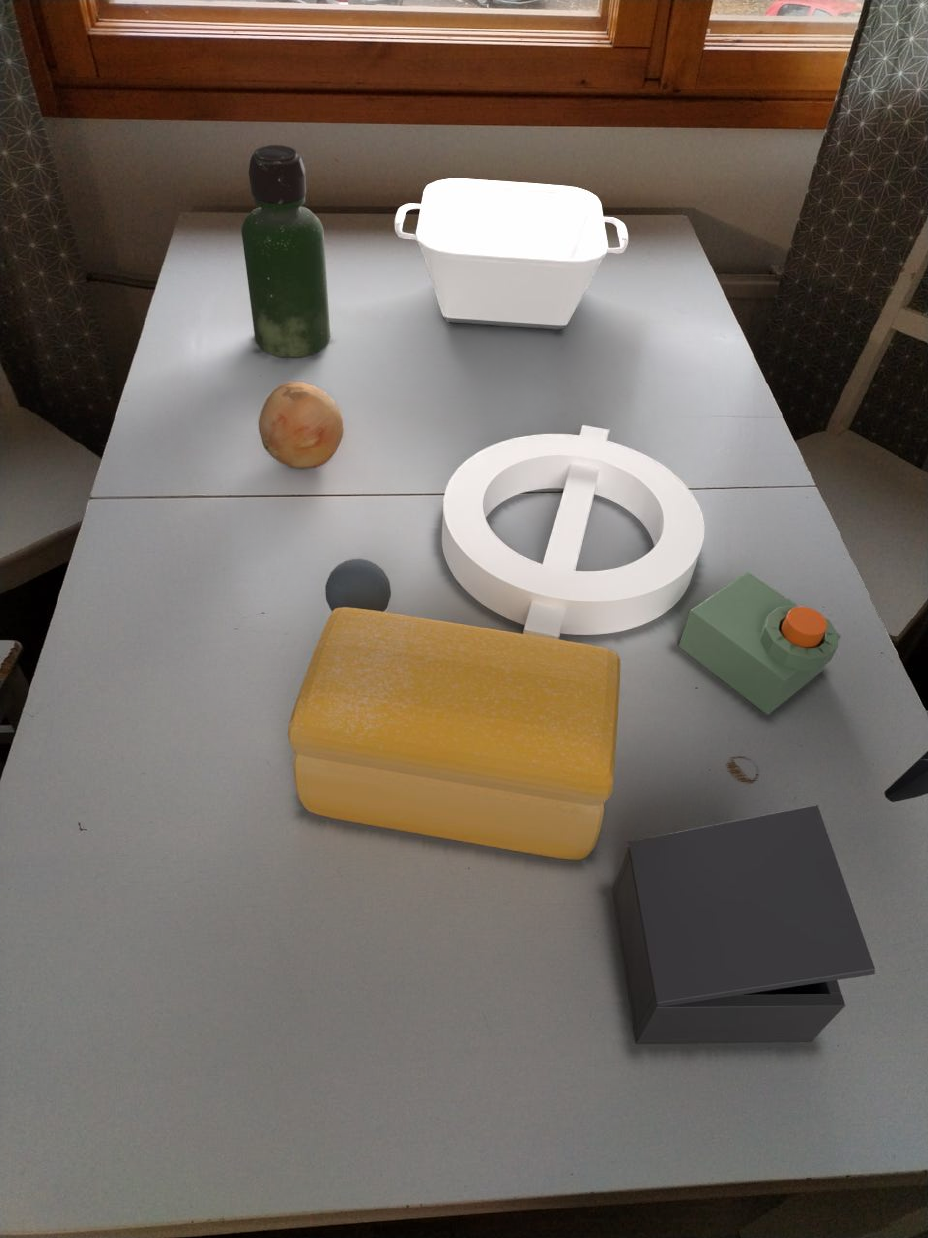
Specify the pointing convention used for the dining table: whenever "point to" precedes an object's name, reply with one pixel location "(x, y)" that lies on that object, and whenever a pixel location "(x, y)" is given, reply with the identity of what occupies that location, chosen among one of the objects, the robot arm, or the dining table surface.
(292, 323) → the green bottle
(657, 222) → the dining table surface
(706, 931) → the fryer lid
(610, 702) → the bread
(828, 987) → the charcoal lidded box
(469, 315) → the tub
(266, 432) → the orange-brown rounded lump
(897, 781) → the robot arm
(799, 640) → the button
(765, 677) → the control block
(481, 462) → the white circle with bar
